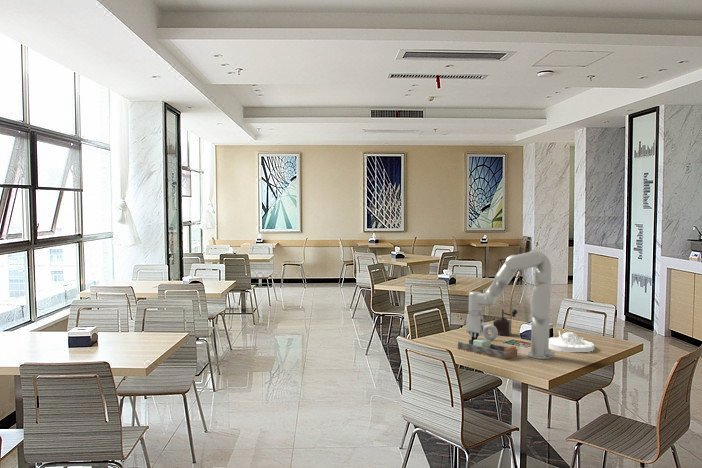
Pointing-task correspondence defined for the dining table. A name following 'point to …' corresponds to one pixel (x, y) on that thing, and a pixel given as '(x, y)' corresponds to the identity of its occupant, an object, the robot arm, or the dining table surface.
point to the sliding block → (482, 343)
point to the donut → (494, 332)
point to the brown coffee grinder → (504, 324)
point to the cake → (570, 343)
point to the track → (490, 350)
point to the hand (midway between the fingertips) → (474, 343)
